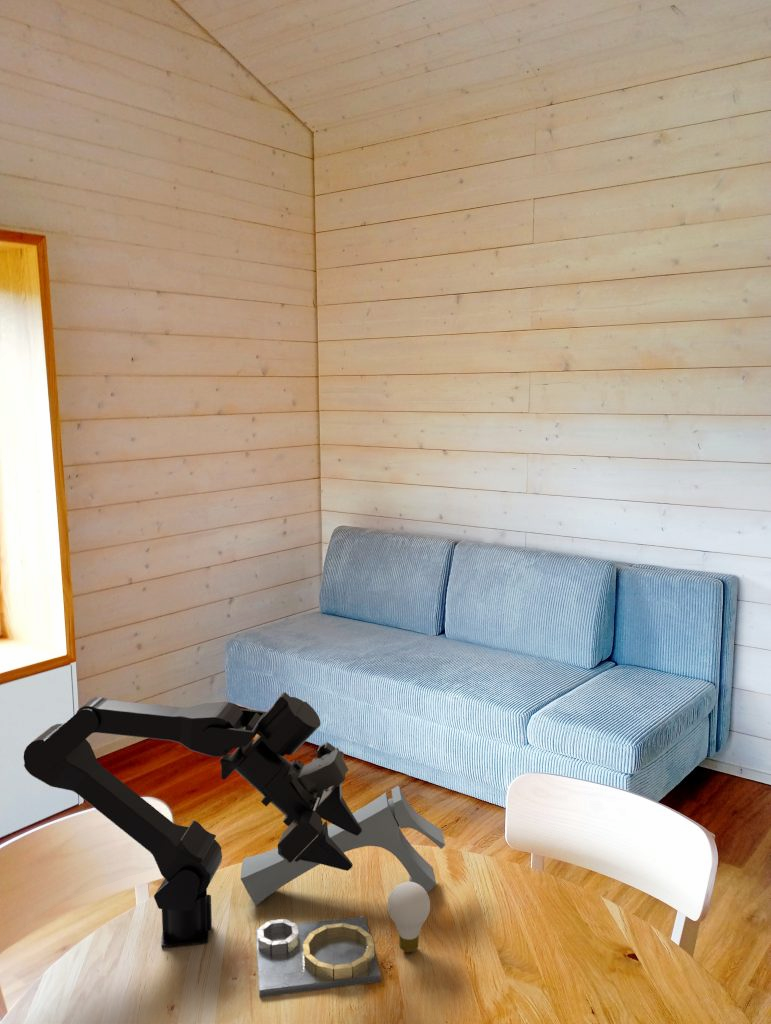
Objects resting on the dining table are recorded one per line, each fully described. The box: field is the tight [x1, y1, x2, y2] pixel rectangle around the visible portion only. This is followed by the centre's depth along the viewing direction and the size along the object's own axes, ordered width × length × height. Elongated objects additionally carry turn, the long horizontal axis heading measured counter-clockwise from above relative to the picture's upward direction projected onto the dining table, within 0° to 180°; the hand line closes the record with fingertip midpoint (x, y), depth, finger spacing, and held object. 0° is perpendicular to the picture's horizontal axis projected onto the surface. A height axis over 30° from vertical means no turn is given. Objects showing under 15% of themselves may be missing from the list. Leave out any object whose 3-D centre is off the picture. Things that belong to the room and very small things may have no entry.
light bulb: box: [387, 881, 431, 954], centre depth 119 cm, size 6×6×10 cm
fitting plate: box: [255, 915, 382, 998], centre depth 118 cm, size 16×13×2 cm
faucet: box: [240, 785, 446, 906], centre depth 134 cm, size 6×17×30 cm
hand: (355, 849), depth 119 cm, fingers open, 9 cm apart
